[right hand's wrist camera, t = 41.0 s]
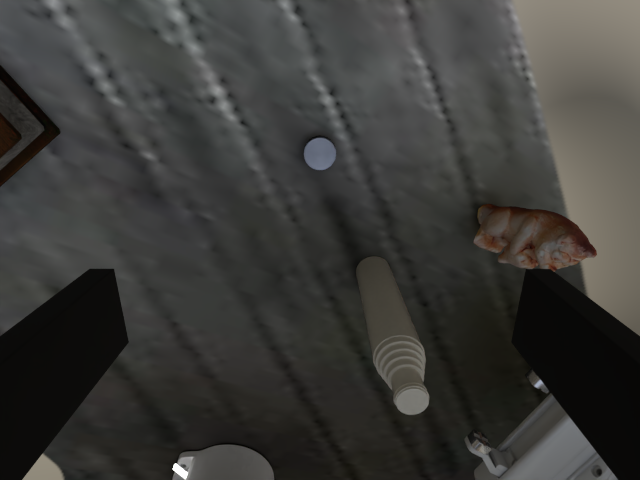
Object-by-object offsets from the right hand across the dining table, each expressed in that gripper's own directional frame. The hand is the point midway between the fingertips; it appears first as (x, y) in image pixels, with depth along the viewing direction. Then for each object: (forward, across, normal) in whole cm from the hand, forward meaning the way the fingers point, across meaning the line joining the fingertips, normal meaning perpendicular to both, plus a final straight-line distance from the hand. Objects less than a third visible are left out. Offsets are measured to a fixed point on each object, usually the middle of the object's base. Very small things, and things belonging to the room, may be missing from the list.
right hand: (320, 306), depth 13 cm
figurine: (+37, +22, -8) cm, 44 cm away
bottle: (+37, +7, -16) cm, 41 cm away
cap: (+36, 0, 0) cm, 36 cm away
